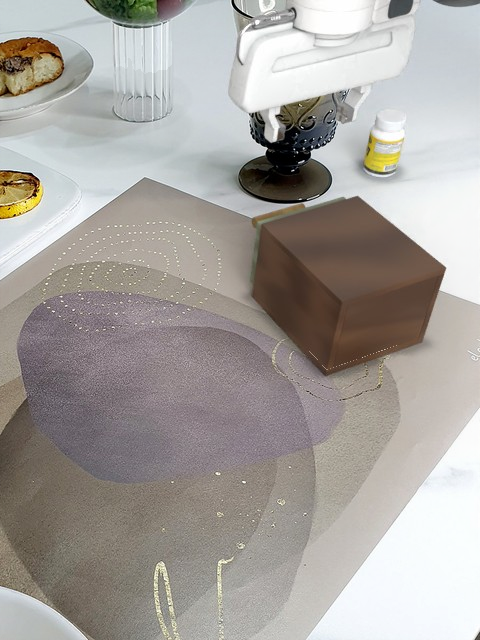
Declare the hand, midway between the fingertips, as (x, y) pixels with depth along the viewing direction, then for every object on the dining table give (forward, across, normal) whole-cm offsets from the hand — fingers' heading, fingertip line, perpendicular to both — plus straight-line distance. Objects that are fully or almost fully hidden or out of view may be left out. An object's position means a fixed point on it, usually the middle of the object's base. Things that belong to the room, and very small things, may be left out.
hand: (309, 129), depth 94 cm
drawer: (+18, 0, -6) cm, 19 cm away
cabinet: (+19, 0, -10) cm, 22 cm away
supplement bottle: (+20, +25, +15) cm, 35 cm away
